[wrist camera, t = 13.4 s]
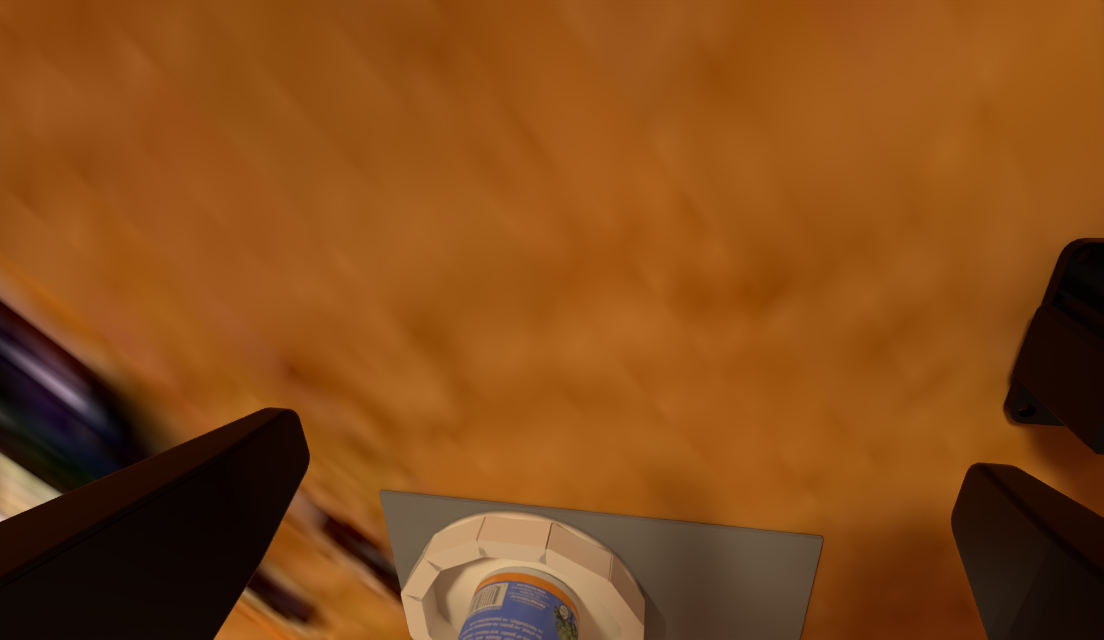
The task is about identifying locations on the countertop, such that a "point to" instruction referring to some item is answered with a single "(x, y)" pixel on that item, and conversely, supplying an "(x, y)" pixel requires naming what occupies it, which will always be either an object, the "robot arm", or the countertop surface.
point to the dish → (523, 541)
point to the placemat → (659, 565)
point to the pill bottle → (521, 608)
